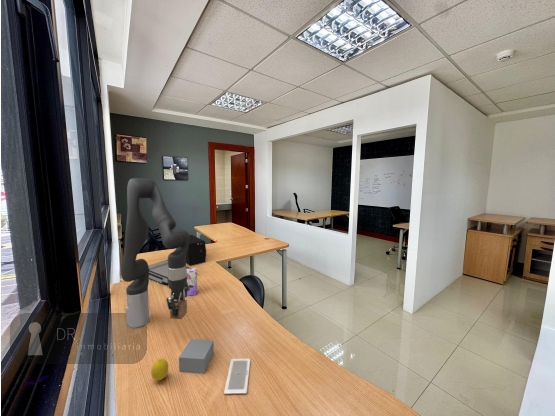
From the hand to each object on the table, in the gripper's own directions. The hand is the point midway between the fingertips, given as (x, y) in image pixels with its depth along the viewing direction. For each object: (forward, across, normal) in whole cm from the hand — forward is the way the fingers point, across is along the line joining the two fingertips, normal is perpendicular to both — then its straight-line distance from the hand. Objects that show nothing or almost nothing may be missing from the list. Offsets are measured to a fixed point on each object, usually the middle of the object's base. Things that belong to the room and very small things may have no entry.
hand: (178, 312), depth 98 cm
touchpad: (+16, +14, +31) cm, 37 cm away
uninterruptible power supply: (+17, -106, -45) cm, 116 cm away
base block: (+15, +9, +12) cm, 22 cm away
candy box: (+16, -43, -19) cm, 50 cm away
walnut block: (+1, 0, 0) cm, 1 cm away
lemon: (+16, +18, +2) cm, 24 cm away
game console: (+17, -67, -45) cm, 82 cm away
